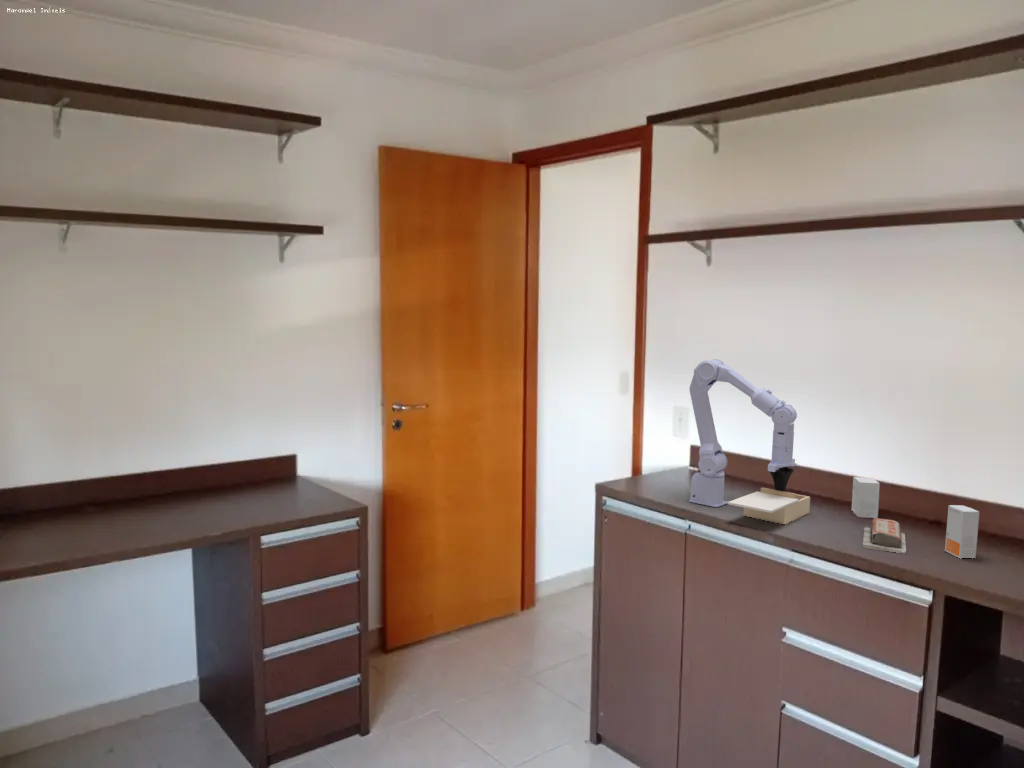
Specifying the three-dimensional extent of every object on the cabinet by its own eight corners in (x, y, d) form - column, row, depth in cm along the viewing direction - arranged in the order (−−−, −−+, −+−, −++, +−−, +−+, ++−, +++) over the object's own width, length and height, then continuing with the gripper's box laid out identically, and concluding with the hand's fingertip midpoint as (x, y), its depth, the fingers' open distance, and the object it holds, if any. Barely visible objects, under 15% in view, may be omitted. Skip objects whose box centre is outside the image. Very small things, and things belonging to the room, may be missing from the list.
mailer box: (743, 516, 221) (744, 499, 221) (770, 505, 235) (770, 489, 234) (784, 525, 213) (785, 507, 213) (809, 513, 227) (810, 496, 226)
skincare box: (943, 551, 192) (947, 504, 191) (959, 551, 193) (963, 504, 192) (959, 559, 186) (963, 511, 185) (976, 559, 187) (980, 511, 186)
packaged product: (864, 515, 209) (905, 520, 205) (863, 532, 210) (904, 537, 205) (863, 531, 193) (907, 537, 189) (862, 550, 194) (906, 556, 189)
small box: (877, 519, 222) (880, 483, 221) (857, 517, 223) (859, 482, 222) (870, 512, 230) (873, 477, 229) (850, 510, 231) (853, 476, 230)
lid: (727, 504, 214) (727, 497, 214) (757, 492, 228) (758, 486, 228) (771, 513, 205) (771, 506, 205) (799, 500, 220) (800, 494, 219)
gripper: (785, 451, 215) (783, 499, 216) (806, 445, 226) (803, 491, 227) (761, 448, 220) (759, 494, 221) (782, 442, 230) (780, 486, 232)
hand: (779, 492), depth 224 cm, fingers closed
